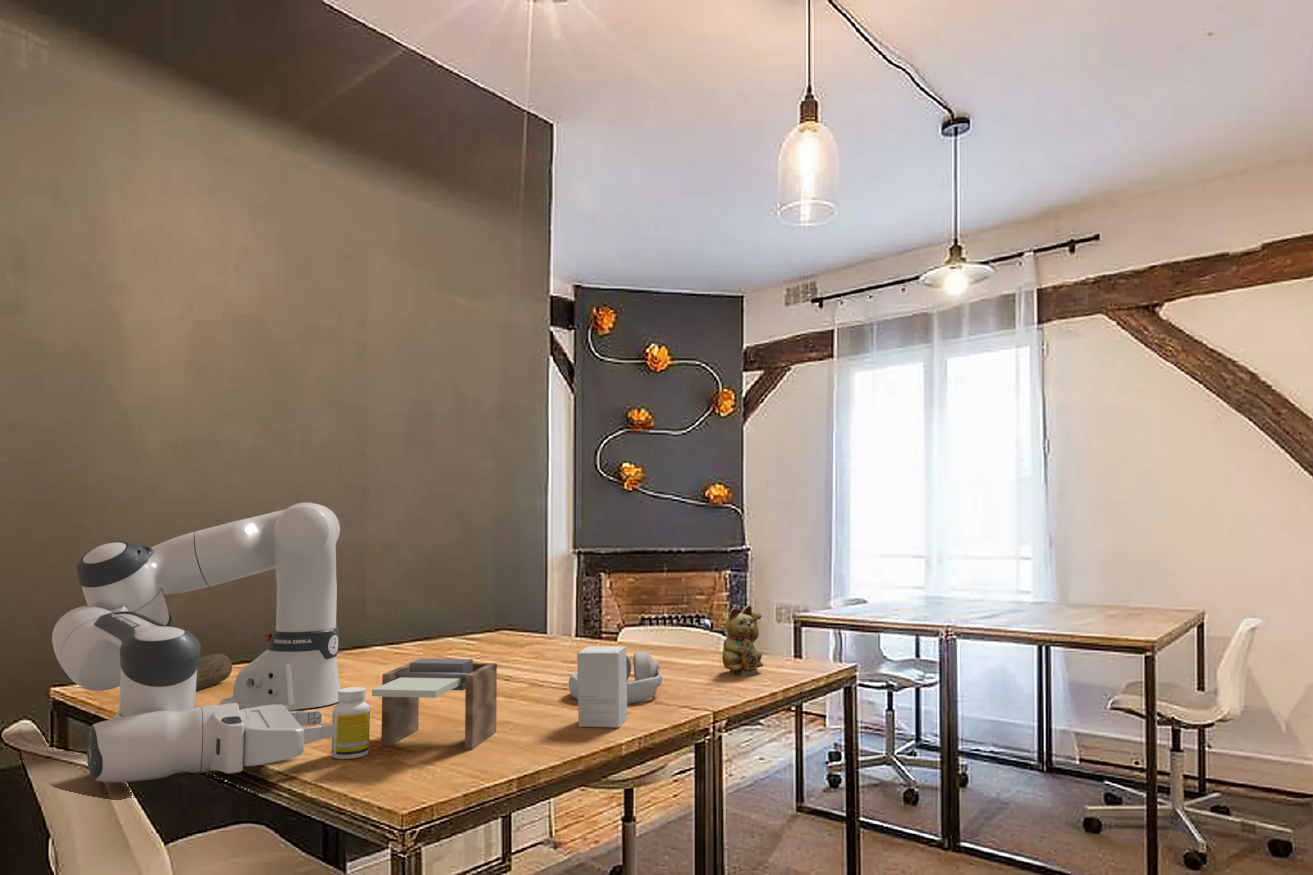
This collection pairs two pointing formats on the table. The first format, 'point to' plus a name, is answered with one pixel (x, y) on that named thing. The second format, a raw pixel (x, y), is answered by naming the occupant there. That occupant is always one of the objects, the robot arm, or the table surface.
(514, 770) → the table surface
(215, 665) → the brown hollow rounded cylinder
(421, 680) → the trapdoor
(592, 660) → the supplement box
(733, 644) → the decorative figurine
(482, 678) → the walnut frame
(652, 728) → the table surface
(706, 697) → the table surface
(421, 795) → the table surface
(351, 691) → the supplement bottle
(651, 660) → the headphones
